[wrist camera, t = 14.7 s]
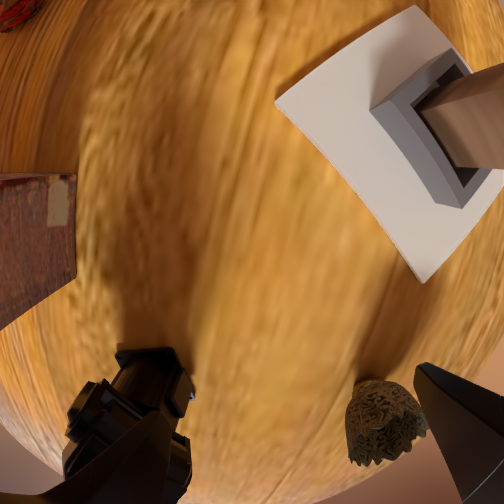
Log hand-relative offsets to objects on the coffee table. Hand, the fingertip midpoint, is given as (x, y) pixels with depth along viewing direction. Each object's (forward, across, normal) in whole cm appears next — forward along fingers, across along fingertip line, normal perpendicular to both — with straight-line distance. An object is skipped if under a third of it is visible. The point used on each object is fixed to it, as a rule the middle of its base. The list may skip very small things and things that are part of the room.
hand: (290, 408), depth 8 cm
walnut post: (+12, -15, -9) cm, 21 cm away
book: (+13, +27, -12) cm, 32 cm away
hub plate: (+13, -15, -9) cm, 22 cm away
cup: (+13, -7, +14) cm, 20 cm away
